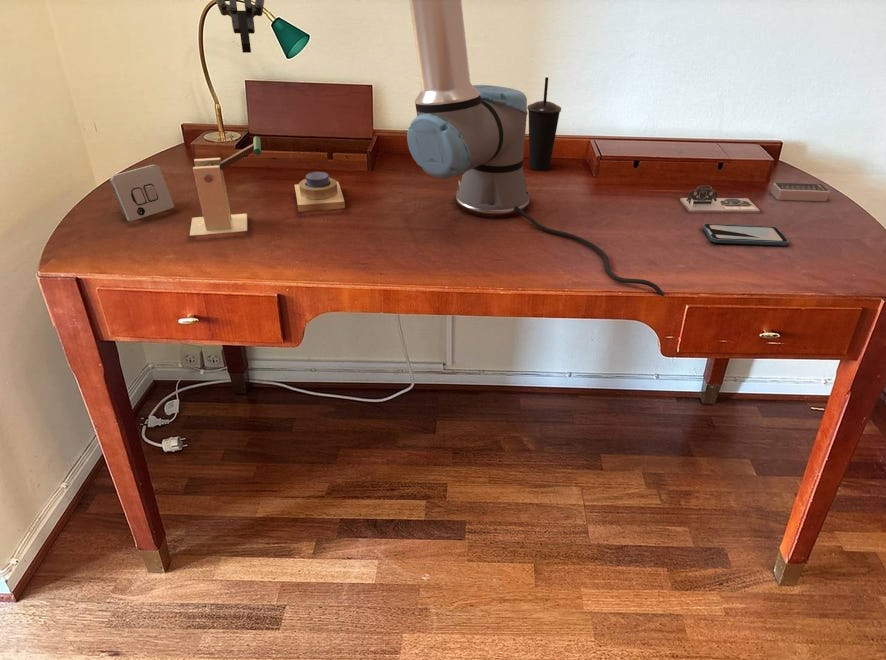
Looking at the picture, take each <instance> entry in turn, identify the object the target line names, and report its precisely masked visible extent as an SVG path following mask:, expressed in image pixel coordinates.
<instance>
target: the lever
mask: <svg viewBox="0 0 886 660" xmlns="http://www.w3.org/2000/svg"><path fill="white" fill-rule="evenodd" d="M261 143H262V142H261V137H260V136H258V135H255V136H254V137H253V143H251V144H249V145H248V146H246V147H245V148H243V149H241V150H239V151H237V152H236V153H234V154H232V155H231V156H228V157H227V158H225V159H224V160H221V162H220V163H218V164H216V165H220V170H224V169H226V168H228V167H230V166H232V165H233V164H235V163H236V162H238V161H240V160H242V159H244V158H245V157H248V156H249V155H251V154H253V153H254V155H256V156H260V155H261V154H262V144H261ZM216 165H214V164H213V163H212V162H210V163H208V164H206V165H204V166H216Z"/></svg>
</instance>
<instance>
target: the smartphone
mask: <svg viewBox="0 0 886 660" xmlns="http://www.w3.org/2000/svg"><path fill="white" fill-rule="evenodd" d="M702 230H703V231H704V233H705V234H706V236H707V237H708V239H709V240H710V241H711V242H712V243H720V244H739V245H740V244H742V245H761V246H763V245H765V246H783V247H784V246H788V245H789V242H790V241H789V238H787V237H786V236H785V234H784V233H783V232H782V231H781V230H780V229H779V227H776V226H774V225H773V226H771V225H752V224H751V225H750V224H749V225H748V224H728V223H727V224H725V223H703V224H702Z"/></svg>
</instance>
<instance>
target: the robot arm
mask: <svg viewBox="0 0 886 660" xmlns="http://www.w3.org/2000/svg"><path fill="white" fill-rule="evenodd" d="M215 2H216V5H217V8H218V11H219V13H220V15H221V16H224V17H225V16H229V18H231V19H230V20H231V25H232V31H233V33H234V34H239V35H240V42H241V43H240V44H241V50H242V53H243V54H246V53H249V54H250V53H252V48H251V41H250V34H251V35H252V34H255V32H256V29H255V21H254V18H255V17H256V16H258V17H262V16H263V13H264V5H265V0H255V1H254V4H252V0H243V3H244V10H238V4H237V0H228V2H229V3H227V2H226V0H215ZM462 2H463V1H462V0H408V3H409V8H410V9H409V10H410V17H411V23H412V30H413V38H414V44H415V49H416V58H417V65H418V71H419V80H420V85H421V90H420V92H419V93H418V95H417V96H416V98H415V100H414V105H415V111H416V117H415V118H414V119H413V120H412V121H411V122H410V126H409V127H408V128H407V132H406V140H407V141H406V142H407V146H408V150H409V152H410V154H411V157H412V159H413V160H414V162H415V163H416V164H417V166H418V167H421V168H422V170H423V172H425V173H426V174H427V175H429V176H430V177H433V178H436V179H441V180H444V179H445V180H446V179H451V178H453V177H459V176H461V175H462V176H461V180H458V187H457V190H456V192H455V204H456V206H457V207H458V208H459V209H460V210H461V211H463V212H464V213H466V214H469V215H472V216H477V217H481V218H482V217H483V218H490V219H491V218H494V219H497V218H501V219H502V218H509V217H514V216H517V215H521V216H522V217H524V218H525V219H527V221H529V222H530V223H531V224H533V226H535V227H536V228H538V229H540V230H541V231H544V232H546V233H549V234H553V235H557V236H560V237H561V236H562V237H565V238H570V239H572V240H576V241H577V242H580V243H582V244H585V245H586V246H588V247H589V248H591V249H593V250H594V251H595V252H596V253H598V254H599V255H600V256H601V257H602V258H603V262H604V268H605V272H606V274H607V275H608V276H609V277H610V278H612V279H613V280H615V281H617V282H620V283H624V284H635V285H645V286H647V287H649V288H652V289H653V290H654V291H655V292H656V293H657V295H658V296H660V297H664V296H665V294H664V292H663V290H662V289H661V287H659V285H657V284H656V283H654V282H653V281H649V280H647V279H641V278H628V277H621V276H618V275H616V274H615V273H614V272H613V271H612V270H611V265H610V260H609V257H608V255H607V254H606V253H605V252H604V251H603V250H602V249H601V248H600V247H599V246H597V245H595V244H594V243H592V242H591V241H589V240H587V239H585V238H583V237H580V236H578V235H576V234H573V233H570V232H565V231H562V230H556V229H552V228H550V227H546V226H545V225H542V224H540V223H539V222H538V221H536V219H534V217H532V216H530V215H529V214H528V213H527V212H526V211H527V210H528V209H529V207H530V199H531V197H530V191H529V190H528V186H527V180H526V176H525V172H524V155H525V143H526V132H527V131H526V129H527V117H528V115H529V111H528V109H527V107H528V99H527V96H526V94H525V93H524V92H522V91H521V90H518V89H516V88H515V89H514V88H512V87H511V88H510V87H507V86H499V85H490V84H489V85H488V84H474V85H473V84H472V83H471V77H470V75H471V74H470V66H469V65H470V64H469V57H468V49H467V39H466V31H465V22H464V21H465V20H464V11H463V3H462Z"/></svg>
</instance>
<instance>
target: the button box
mask: <svg viewBox="0 0 886 660" xmlns="http://www.w3.org/2000/svg"><path fill="white" fill-rule="evenodd" d="M294 190H295V197H296V198H295V199H296V204H297V209H298V212H300V213H301V212H314V211H315V212H316V211H326V210H327V211H329V210H340V209H342V210H343V209H346V202H345V199H344V195H343V192H342V188H341V185H340V182H339V181H337V180H336V179H334V178H332V177H329V185H328V186H326V187H322V188H312V187H308V186H307V182H306V178H304V179H302V180H301V181H299V183H297V184H294Z"/></svg>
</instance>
